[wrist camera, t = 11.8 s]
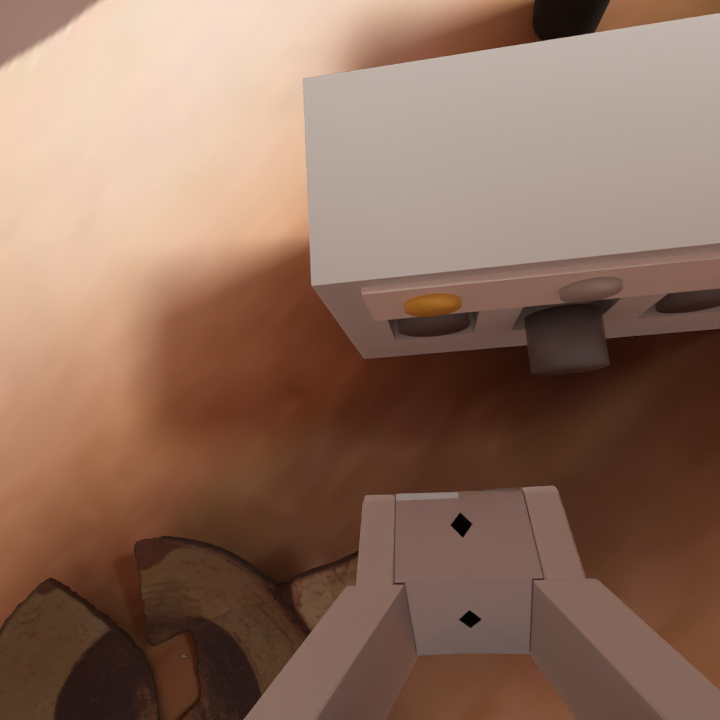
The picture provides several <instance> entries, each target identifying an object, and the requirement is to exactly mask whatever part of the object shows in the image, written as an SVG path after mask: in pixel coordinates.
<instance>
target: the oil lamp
mask: <svg viewBox="0 0 720 720" xmlns="http://www.w3.org/2000/svg"><path fill="white" fill-rule="evenodd" d="M134 552H135V558H136V560H137V570H138V572H139V576H140V581H141V597H142V600H143V605H144V608H143V610H144V619H145V633H146V637H147V642H148V643H149V644H150V645H151V646H155V645H157V644H160V643H162V642H164V641H166V640H168V639H171V638H172V637H174V636H176V635H178V634H180V633H182V632H185V631H186V630H190V631H191V632H192V633H193V636H194V638H195V644H196V650H197V657H198V661H197V670H198V672H197V675H198V676H199V680H200V686H201V697H200V700H199V701H198V702H197V703H196V704H195V705H194V707H192V708H190V710H189V711H188V712H187V713H186V714H185V715H184V716H183V718H182V719H181V720H244V719H245V717H246V716H247V715H248V713H249V712H250V711H251V709H252V708H253V707H254V706H255V704H256V703H257V702H258V700H259V699H260V698H261V696H262V695H263V694H264V693H265V691H266V690H267V689H268V687H269V686H270V685H271V683H272V682H273V681H274V680H275V678H276V677H277V676H278V674H279V673H280V672H281V671H282V669H283V668H284V667H285V665H286V664H287V663H288V661H289V660H290V659H291V658H292V656H293V655H294V654H295V652H296V651H297V650H298V648H299V647H300V646H301V645H302V643H303V642H304V641H305V639H306V638H307V637H308V635H309V634H310V633H311V632H312V630H313V629H314V628H315V626H316V625H317V624H318V622H319V621H320V620H321V619H322V617H323V616H324V615H325V613H326V612H327V611H328V609H329V608H330V607H331V606H332V604H333V603H334V602H335V600H336V599H337V598H338V596H339V595H340V594H341V593H342V591H343V590H344V589H345V587H346V586H356V579H357V566H358V554H359V550H358V551H357V552H355V553H353V554H350V555H348V556H346V557H344V558H342V559H340V560H338V561H336V562H333V563H330V564H326V565H323V566H320V567H316V568H313V569H311V570H309V571H307V572H304V573H301V574H299V575H297V576H296V577H294V578H293V580H292V581H291V582H290V583H286V584H283V583H278V582H275V581H273V580H271V579H270V578H268V577H267V576H265V575H264V574H263V573H261V572H260V571H259V570H258V569H256V568H255V567H254V566H253V565H251V564H250V563H248V562H247V561H245V560H244V559H243V558H241V557H239V556H237V555H235V554H234V553H232V552H230V551H227V550H225V549H222V548H220V547H217V546H214V545H212V544H208V543H205V542H201V541H196V540H192V539H187V538H178V537H170V536H161V537H159V538H152V539H144V540H142V541H137V543H136V544H135V549H134ZM182 656H183V657H187V656H186V655H185V653H184V654H183V655H182ZM187 658H189V657H187ZM0 720H160V718H159V710H158V700H157V696H156V688H155V683H154V681H153V673H152V671H151V669H150V665H149V664H148V663H147V661H146V660H145V656H144V653H143V651H142V649H141V648H140V647H138V646H137V645H136V644H135V643H134V641H133V639H132V638H131V636H130V635H129V634H127V633H125V632H124V630H122V629H120V628H118V627H117V625H116V624H115V622H113V621H112V620H111V619H110V618H109V617H108V616H107V615H105V614H103V613H102V612H100V610H97V609H96V608H95V607H94V605H91V604H90V603H89V602H88V601H87V600H86V599H84V598H82V597H81V596H79V595H78V594H77V593H76V592H73V591H72V590H71V589H70V588H69V587H68V586H65V585H64V584H62V583H61V582H59V581H58V580H55V579H53V578H49V579H47V580H45V581H44V582H42V583H41V584H40V585H38V586H37V588H36V589H35V590H34V591H32V593H31V594H30V595H29V596H28V598H27V599H26V600H25V601H23V602H22V603H20V604H19V605H18V606H17V607H16V609H15V610H14V612H13V613H12V614H11V615H10V617H9V618H8V619H7V620H6V621H5V623H4V624H3V626H2V628H1V629H0Z"/></svg>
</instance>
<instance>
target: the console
mask: <svg viewBox="0 0 720 720" xmlns="http://www.w3.org/2000/svg"><path fill="white" fill-rule="evenodd" d="M303 93H304V118H305V142H306V167H307V192H308V217H309V242H310V266H311V286H312V288H313V289H314V290H315V292H316V293H317V295H318V296H319V297H320V299H321V300H322V301H323V303H324V304H325V306H326V307H327V308H328V310H329V311H330V313H331V314H332V315H333V317H334V318H335V320H336V321H337V322H338V324H339V325H340V326H341V328H342V329H343V331H344V332H345V333H346V335H347V336H348V338H349V339H350V340H351V342H352V343H353V345H354V346H355V347H356V349H357V350H358V351H359V353H360V354H361V356H362V357H363V358H364V359H372V358H383V357H395V356H407V355H418V354H430V353H442V352H453V351H465V350H477V349H489V348H500V347H512V346H524V345H527V340H526V332H525V324H524V318H525V317H526V316H528V315H529V314H532V313H534V312H536V311H539V310H543V309H547V308H551V307H556V306H562V305H571V304H592V305H597V306H599V307H601V310H602V316H603V323H604V330H605V336H606V338H617V337H629V336H641V335H653V334H664V333H676V332H688V331H699V330H711V329H720V306H718V307H714V308H710V309H705V310H700V311H694V312H686V313H660V312H657V311H656V308H655V303H657V302H658V301H659V300H660V299H662V298H663V297H664V296H666V295H667V294H668V293H677V292H688V291H698V290H709V289H719V288H720V13H718V14H712V15H705V16H699V17H692V18H686V19H680V20H673V21H667V22H661V23H654V24H648V25H641V26H635V27H629V28H622V29H616V30H610V31H603V32H597V33H590V34H584V35H578V36H571V37H565V38H559V39H552V40H546V41H540V42H533V43H527V44H520V45H514V46H508V47H501V48H495V49H489V50H482V51H476V52H469V53H463V54H457V55H450V56H444V57H438V58H431V59H425V60H418V61H412V62H406V63H399V64H393V65H387V66H380V67H374V68H367V69H361V70H355V71H348V72H342V73H336V74H329V75H323V76H316V77H310V78H304V79H303ZM465 312H468V314H469V323H470V325H469V327H468V328H466V329H464V330H462V331H459V332H456V333H452V334H447V335H441V336H432V337H413V336H406V335H403V334H401V333H399V331H398V319H402V318H412V317H433V316H441V315H446V314H455V313H465Z"/></svg>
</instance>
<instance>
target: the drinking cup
mask: <svg viewBox="0 0 720 720" xmlns="http://www.w3.org/2000/svg"><path fill="white" fill-rule="evenodd" d="M609 1H610V0H535V1H534V12H533V27H534V30H535V32H536V34H537V35H538V37H539V38H540V39H541V40H543V41H546V40H552V39H559V38H565V37H571V36H578V35H584V34H590V33H594V32H595V30H596V28H597V27H598V24H599V22H600V20H601V18H602V16H603V14H604V12H605V10H606V8H607V6H608V4H609Z"/></svg>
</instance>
